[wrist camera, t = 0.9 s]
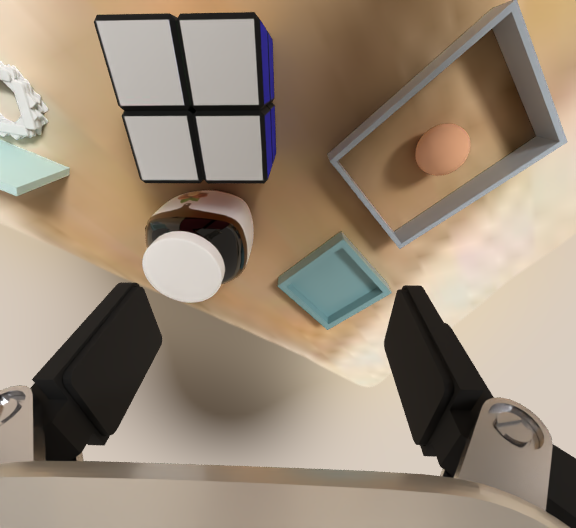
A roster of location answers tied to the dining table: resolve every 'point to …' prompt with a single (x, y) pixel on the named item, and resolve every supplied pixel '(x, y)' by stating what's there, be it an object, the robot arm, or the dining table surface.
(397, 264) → the dining table surface
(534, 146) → the grey hollow rectangular frame
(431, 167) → the ball
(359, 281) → the dish
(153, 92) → the puzzle cube
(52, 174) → the l-shaped corner panel
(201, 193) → the spread jar
